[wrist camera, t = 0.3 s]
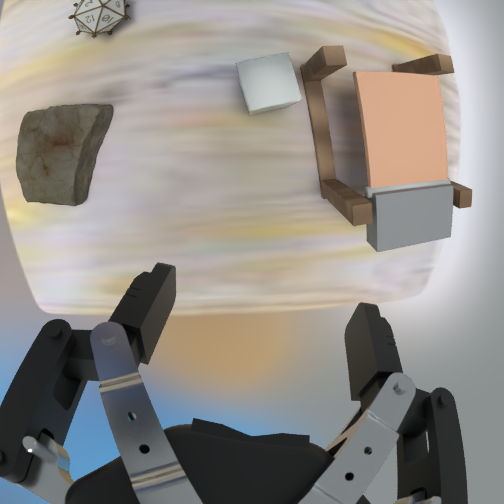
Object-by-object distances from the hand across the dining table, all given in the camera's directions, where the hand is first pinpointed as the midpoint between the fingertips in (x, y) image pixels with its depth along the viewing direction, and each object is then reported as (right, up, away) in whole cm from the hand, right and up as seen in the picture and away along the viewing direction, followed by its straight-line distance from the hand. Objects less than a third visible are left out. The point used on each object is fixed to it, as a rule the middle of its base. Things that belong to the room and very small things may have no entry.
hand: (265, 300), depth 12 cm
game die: (-20, +35, +14) cm, 43 cm away
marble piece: (-29, +17, +22) cm, 40 cm away
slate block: (+1, +20, +15) cm, 25 cm away
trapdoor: (+15, +12, +14) cm, 24 cm away
